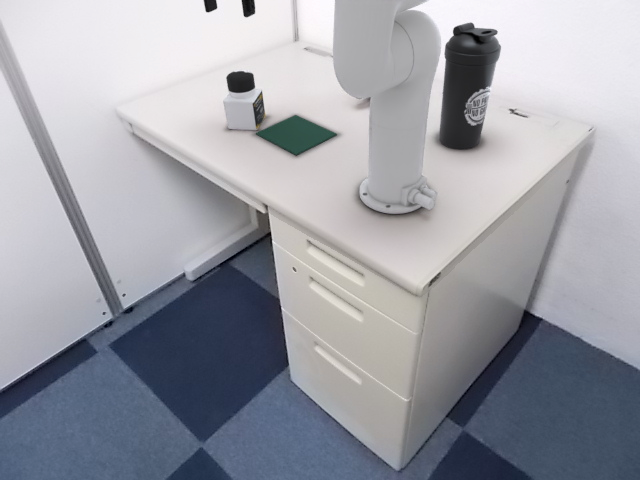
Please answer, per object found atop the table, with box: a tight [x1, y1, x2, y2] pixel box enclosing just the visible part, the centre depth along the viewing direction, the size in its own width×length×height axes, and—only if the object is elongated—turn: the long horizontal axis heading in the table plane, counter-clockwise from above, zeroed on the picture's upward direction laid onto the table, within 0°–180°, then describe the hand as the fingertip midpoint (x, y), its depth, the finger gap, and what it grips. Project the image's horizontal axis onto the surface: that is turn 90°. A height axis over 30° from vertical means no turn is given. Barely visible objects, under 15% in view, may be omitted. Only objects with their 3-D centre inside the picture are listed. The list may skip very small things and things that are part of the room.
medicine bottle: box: [222, 69, 266, 131], centre depth 112 cm, size 7×7×12 cm
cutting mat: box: [255, 114, 338, 156], centre depth 111 cm, size 14×12×1 cm
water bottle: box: [438, 22, 502, 151], centre depth 98 cm, size 10×10×23 cm
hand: (230, 13), depth 101 cm, fingers open, 9 cm apart
